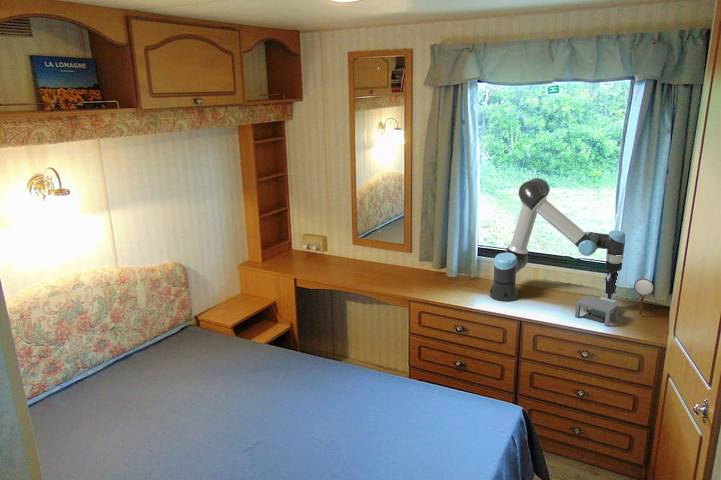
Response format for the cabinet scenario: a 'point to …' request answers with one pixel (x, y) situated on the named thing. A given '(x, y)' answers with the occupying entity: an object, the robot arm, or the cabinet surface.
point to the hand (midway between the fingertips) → (609, 304)
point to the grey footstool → (597, 308)
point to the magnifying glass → (643, 290)
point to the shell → (601, 313)
